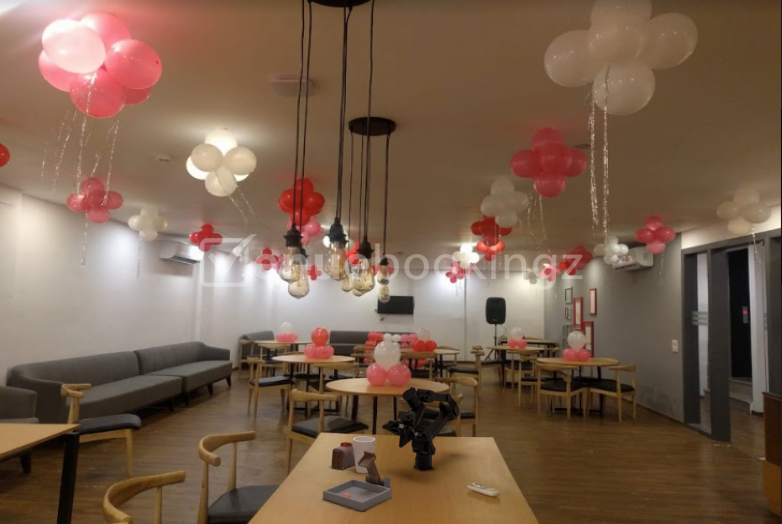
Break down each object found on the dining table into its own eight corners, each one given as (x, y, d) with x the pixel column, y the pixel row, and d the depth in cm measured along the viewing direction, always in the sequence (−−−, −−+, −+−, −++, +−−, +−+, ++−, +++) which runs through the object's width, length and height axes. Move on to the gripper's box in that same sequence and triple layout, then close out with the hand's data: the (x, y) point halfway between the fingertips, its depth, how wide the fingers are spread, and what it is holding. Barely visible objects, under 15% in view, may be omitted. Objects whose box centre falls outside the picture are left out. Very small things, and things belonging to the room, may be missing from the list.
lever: (375, 481, 204) (364, 450, 199) (385, 484, 201) (374, 453, 196) (368, 491, 200) (356, 460, 195) (378, 494, 197) (366, 463, 192)
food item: (346, 459, 237) (346, 437, 238) (361, 462, 234) (362, 439, 235) (329, 468, 225) (330, 444, 226) (345, 471, 222) (346, 447, 222)
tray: (353, 486, 203) (353, 478, 203) (391, 497, 193) (391, 489, 193) (322, 499, 189) (323, 490, 190) (362, 512, 179) (362, 502, 179)
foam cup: (371, 475, 217) (372, 442, 218) (349, 473, 219) (350, 441, 220) (376, 468, 226) (377, 437, 227) (355, 466, 228) (356, 435, 229)
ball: (340, 500, 185) (344, 504, 186) (348, 498, 184) (351, 502, 185) (341, 492, 187) (345, 496, 189) (348, 490, 186) (352, 494, 188)
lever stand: (371, 485, 205) (372, 473, 206) (390, 490, 200) (390, 478, 200) (365, 488, 202) (365, 476, 202) (384, 493, 197) (384, 481, 197)
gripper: (389, 400, 225) (373, 432, 215) (426, 405, 214) (411, 439, 204) (400, 416, 231) (384, 447, 221) (436, 421, 220) (422, 455, 210)
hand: (400, 447), depth 214 cm, fingers closed
